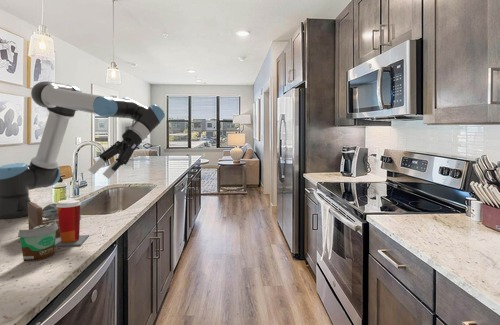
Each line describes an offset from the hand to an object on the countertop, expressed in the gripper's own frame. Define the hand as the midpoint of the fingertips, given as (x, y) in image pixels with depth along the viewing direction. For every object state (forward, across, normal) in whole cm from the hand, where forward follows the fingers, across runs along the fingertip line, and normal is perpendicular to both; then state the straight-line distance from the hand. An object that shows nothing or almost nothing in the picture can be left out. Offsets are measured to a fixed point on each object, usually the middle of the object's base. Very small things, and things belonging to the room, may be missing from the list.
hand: (98, 174), depth 122 cm
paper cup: (+24, -4, -8) cm, 25 cm away
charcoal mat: (+24, -3, -8) cm, 26 cm away
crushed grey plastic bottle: (+20, +24, -13) cm, 34 cm away
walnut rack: (+26, +11, -7) cm, 29 cm away
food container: (+31, -12, -1) cm, 34 cm away
